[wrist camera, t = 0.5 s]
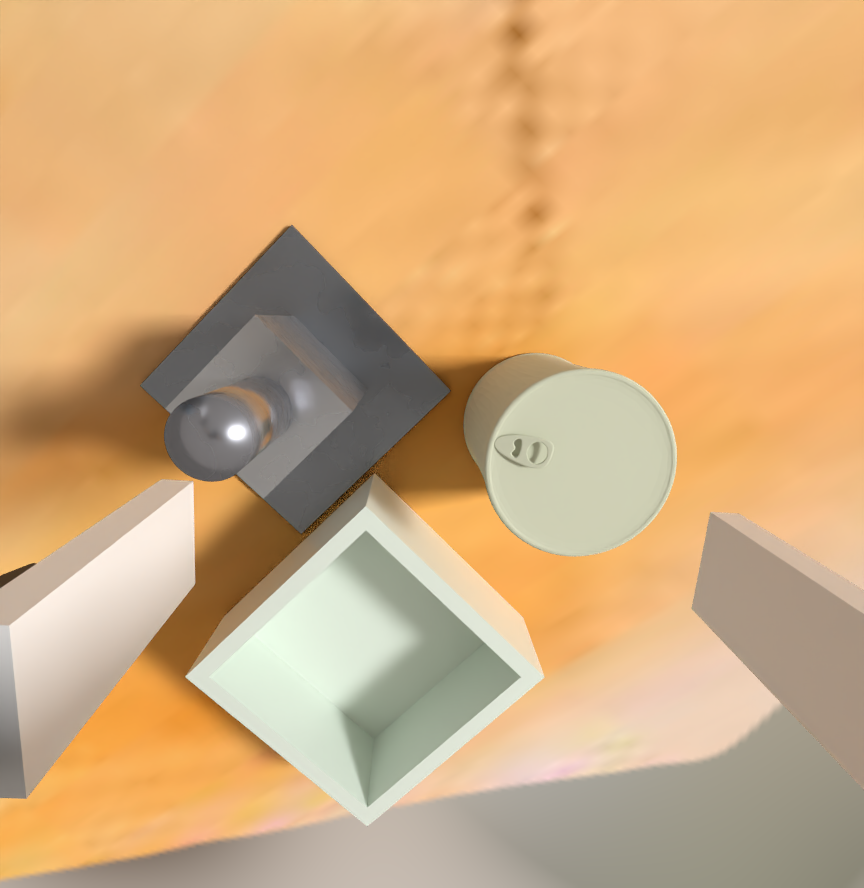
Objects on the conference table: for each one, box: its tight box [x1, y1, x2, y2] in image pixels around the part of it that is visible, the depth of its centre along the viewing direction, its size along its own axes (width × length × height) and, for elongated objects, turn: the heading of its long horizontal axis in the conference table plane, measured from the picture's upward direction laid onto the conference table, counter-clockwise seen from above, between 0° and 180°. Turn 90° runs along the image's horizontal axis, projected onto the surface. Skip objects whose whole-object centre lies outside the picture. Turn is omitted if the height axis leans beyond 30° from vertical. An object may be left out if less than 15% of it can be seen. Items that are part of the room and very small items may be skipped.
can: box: [463, 353, 677, 556], centre depth 32 cm, size 9×9×12 cm
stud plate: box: [140, 225, 451, 534], centre depth 33 cm, size 14×14×8 cm
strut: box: [164, 315, 368, 499], centre depth 29 cm, size 6×6×16 cm
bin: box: [185, 473, 544, 826], centre depth 37 cm, size 15×15×7 cm
